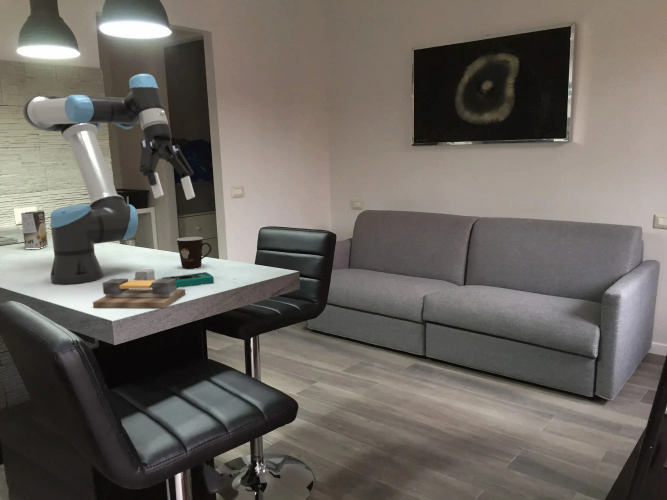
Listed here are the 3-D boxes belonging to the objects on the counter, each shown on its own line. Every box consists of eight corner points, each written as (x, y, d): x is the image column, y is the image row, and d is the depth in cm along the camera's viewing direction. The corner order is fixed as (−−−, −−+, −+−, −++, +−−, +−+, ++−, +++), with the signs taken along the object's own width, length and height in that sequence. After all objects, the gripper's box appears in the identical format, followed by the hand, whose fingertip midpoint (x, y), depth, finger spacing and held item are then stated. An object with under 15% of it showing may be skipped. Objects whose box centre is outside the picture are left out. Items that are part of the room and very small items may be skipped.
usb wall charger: (154, 281, 171) (153, 268, 170) (144, 286, 164) (142, 273, 163) (142, 281, 171) (141, 268, 171) (131, 286, 165) (130, 273, 164)
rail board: (93, 307, 141) (91, 286, 140) (120, 294, 155) (118, 275, 154) (164, 308, 139) (162, 287, 138) (185, 294, 153) (184, 275, 152)
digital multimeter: (159, 286, 166) (158, 276, 165) (208, 280, 173) (207, 270, 172) (164, 291, 159) (163, 281, 159) (214, 284, 166) (214, 274, 166)
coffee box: (40, 249, 240) (35, 212, 237) (24, 250, 239) (20, 213, 237) (48, 246, 249) (44, 210, 246) (33, 246, 248) (29, 211, 246)
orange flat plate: (119, 288, 144) (119, 285, 144) (130, 283, 150) (130, 280, 150) (149, 288, 143) (149, 285, 143) (159, 283, 149) (159, 280, 149)
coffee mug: (174, 267, 191) (171, 239, 189) (195, 263, 197) (193, 236, 196) (192, 272, 183) (190, 242, 182) (214, 267, 190) (212, 238, 188)
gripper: (133, 115, 146) (154, 190, 144) (193, 129, 169) (212, 194, 167) (113, 126, 149) (134, 200, 147) (174, 138, 172) (193, 203, 170)
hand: (175, 197), depth 157 cm, fingers open, 13 cm apart
